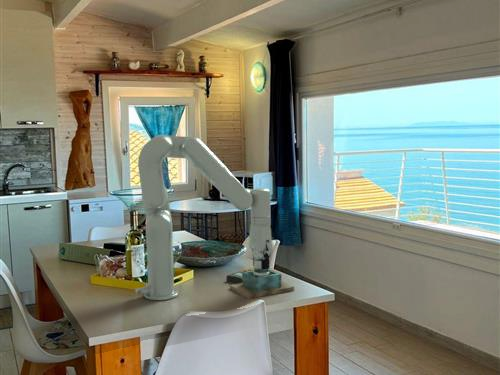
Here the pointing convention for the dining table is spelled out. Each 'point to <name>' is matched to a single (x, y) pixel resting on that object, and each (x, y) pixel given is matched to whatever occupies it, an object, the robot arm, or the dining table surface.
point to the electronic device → (237, 276)
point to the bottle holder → (261, 285)
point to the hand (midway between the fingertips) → (261, 266)
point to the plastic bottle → (258, 263)
